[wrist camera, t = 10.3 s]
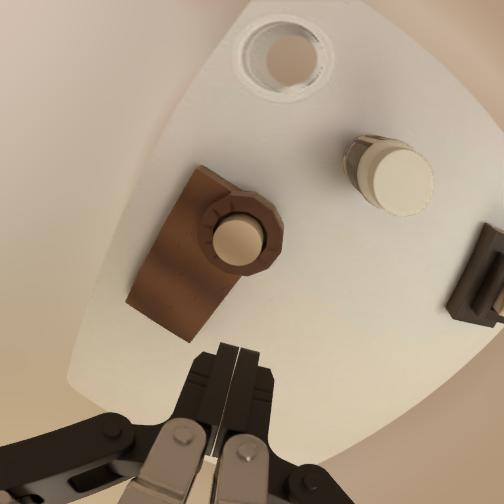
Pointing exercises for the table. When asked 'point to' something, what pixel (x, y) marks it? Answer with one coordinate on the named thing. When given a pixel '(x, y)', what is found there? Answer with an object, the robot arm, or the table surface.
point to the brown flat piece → (200, 254)
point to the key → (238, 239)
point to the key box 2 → (481, 281)
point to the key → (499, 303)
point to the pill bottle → (389, 174)
